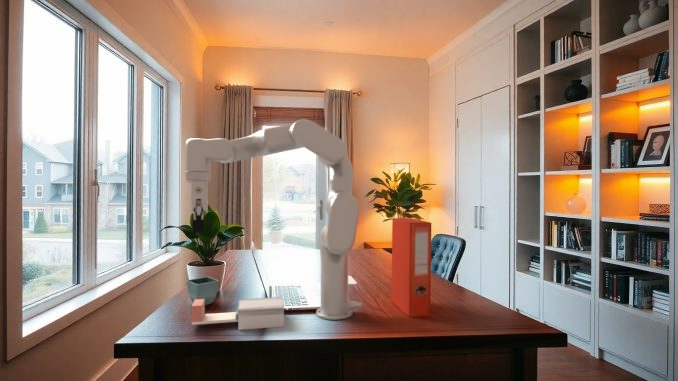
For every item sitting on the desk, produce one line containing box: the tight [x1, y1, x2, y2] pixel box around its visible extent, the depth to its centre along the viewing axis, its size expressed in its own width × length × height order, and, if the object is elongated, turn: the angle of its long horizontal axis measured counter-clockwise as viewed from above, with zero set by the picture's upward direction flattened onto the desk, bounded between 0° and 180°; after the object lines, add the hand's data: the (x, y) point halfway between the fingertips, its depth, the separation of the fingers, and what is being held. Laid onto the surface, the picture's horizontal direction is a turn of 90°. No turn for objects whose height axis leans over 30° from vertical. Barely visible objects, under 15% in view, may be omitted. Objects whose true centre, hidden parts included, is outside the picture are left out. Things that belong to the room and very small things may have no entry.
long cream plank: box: [191, 299, 238, 326], centre depth 127 cm, size 26×7×6 cm, turn 102°
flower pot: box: [186, 276, 219, 306], centre depth 148 cm, size 9×9×9 cm
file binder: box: [391, 217, 432, 318], centre depth 142 cm, size 8×17×32 cm, turn 12°
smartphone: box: [348, 275, 358, 286], centre depth 184 cm, size 7×1×15 cm
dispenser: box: [235, 296, 285, 331], centre depth 129 cm, size 15×12×6 cm
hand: (198, 231), depth 126 cm, fingers open, 9 cm apart
